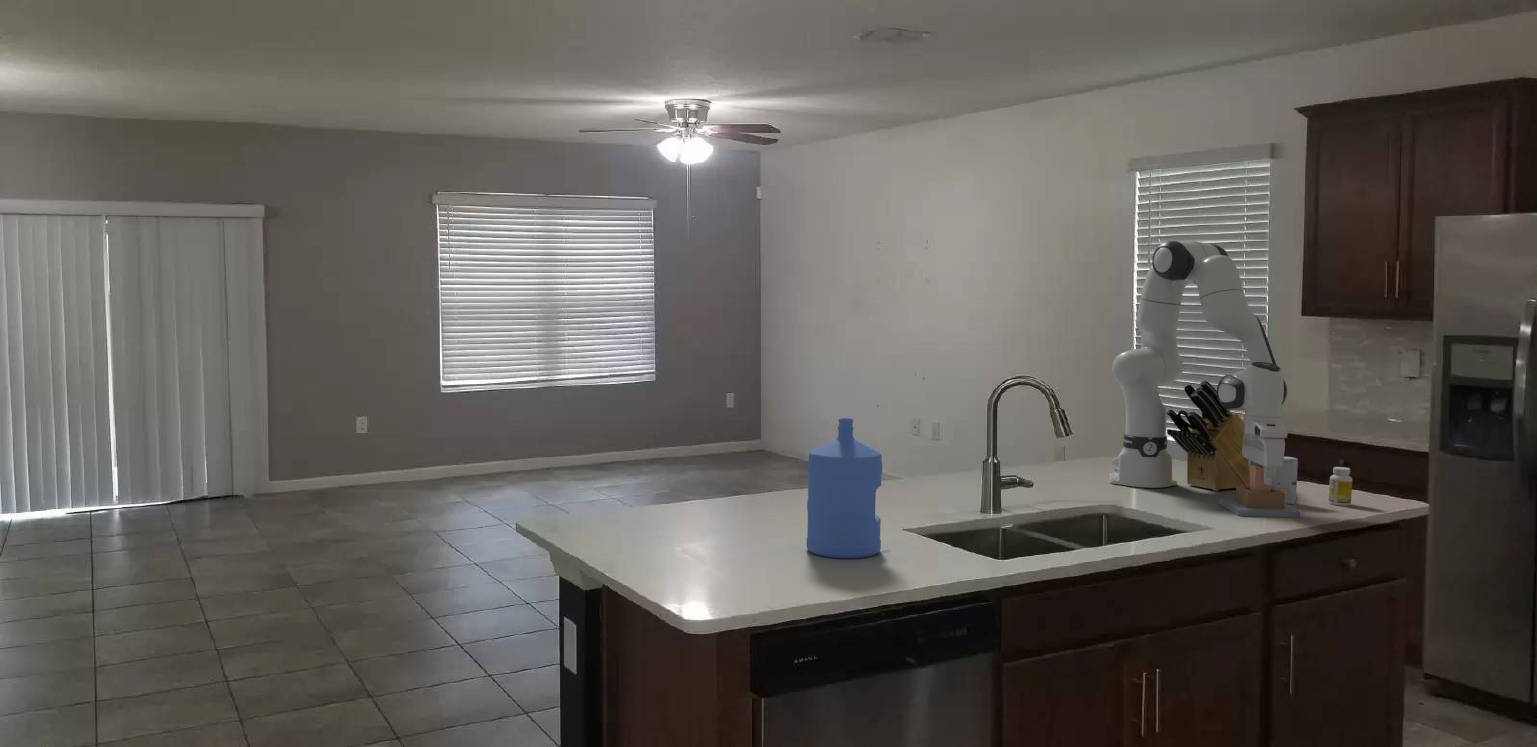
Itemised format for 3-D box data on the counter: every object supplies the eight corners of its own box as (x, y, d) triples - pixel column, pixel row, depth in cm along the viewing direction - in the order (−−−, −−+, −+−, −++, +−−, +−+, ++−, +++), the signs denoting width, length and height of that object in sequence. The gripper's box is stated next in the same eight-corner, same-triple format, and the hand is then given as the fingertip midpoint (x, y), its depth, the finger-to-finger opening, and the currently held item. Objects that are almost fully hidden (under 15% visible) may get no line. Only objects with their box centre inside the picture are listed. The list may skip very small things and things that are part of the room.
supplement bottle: (1324, 503, 312) (1326, 467, 312) (1334, 501, 316) (1336, 465, 315) (1345, 506, 308) (1347, 470, 307) (1354, 504, 312) (1356, 468, 311)
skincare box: (1275, 504, 310) (1277, 458, 309) (1265, 501, 315) (1267, 456, 314) (1297, 504, 311) (1299, 458, 310) (1287, 500, 316) (1289, 455, 315)
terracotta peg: (1248, 503, 303) (1250, 464, 302) (1264, 503, 303) (1266, 465, 302) (1253, 506, 299) (1255, 467, 298) (1270, 506, 299) (1272, 467, 298)
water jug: (838, 563, 239) (840, 425, 237) (791, 548, 251) (793, 417, 249) (896, 553, 248) (898, 420, 246) (848, 539, 260) (850, 413, 258)
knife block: (1160, 487, 334) (1164, 378, 332) (1251, 480, 349) (1255, 375, 347) (1189, 494, 324) (1194, 381, 322) (1282, 486, 339) (1287, 378, 337)
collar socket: (1219, 504, 309) (1220, 483, 308) (1279, 506, 308) (1279, 485, 307) (1238, 515, 294) (1239, 493, 293) (1300, 517, 293) (1301, 495, 292)
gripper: (1236, 421, 310) (1234, 473, 311) (1263, 431, 289) (1261, 487, 290) (1261, 422, 309) (1259, 474, 310) (1290, 432, 289) (1287, 488, 290)
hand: (1260, 480), depth 300 cm, fingers open, 8 cm apart
